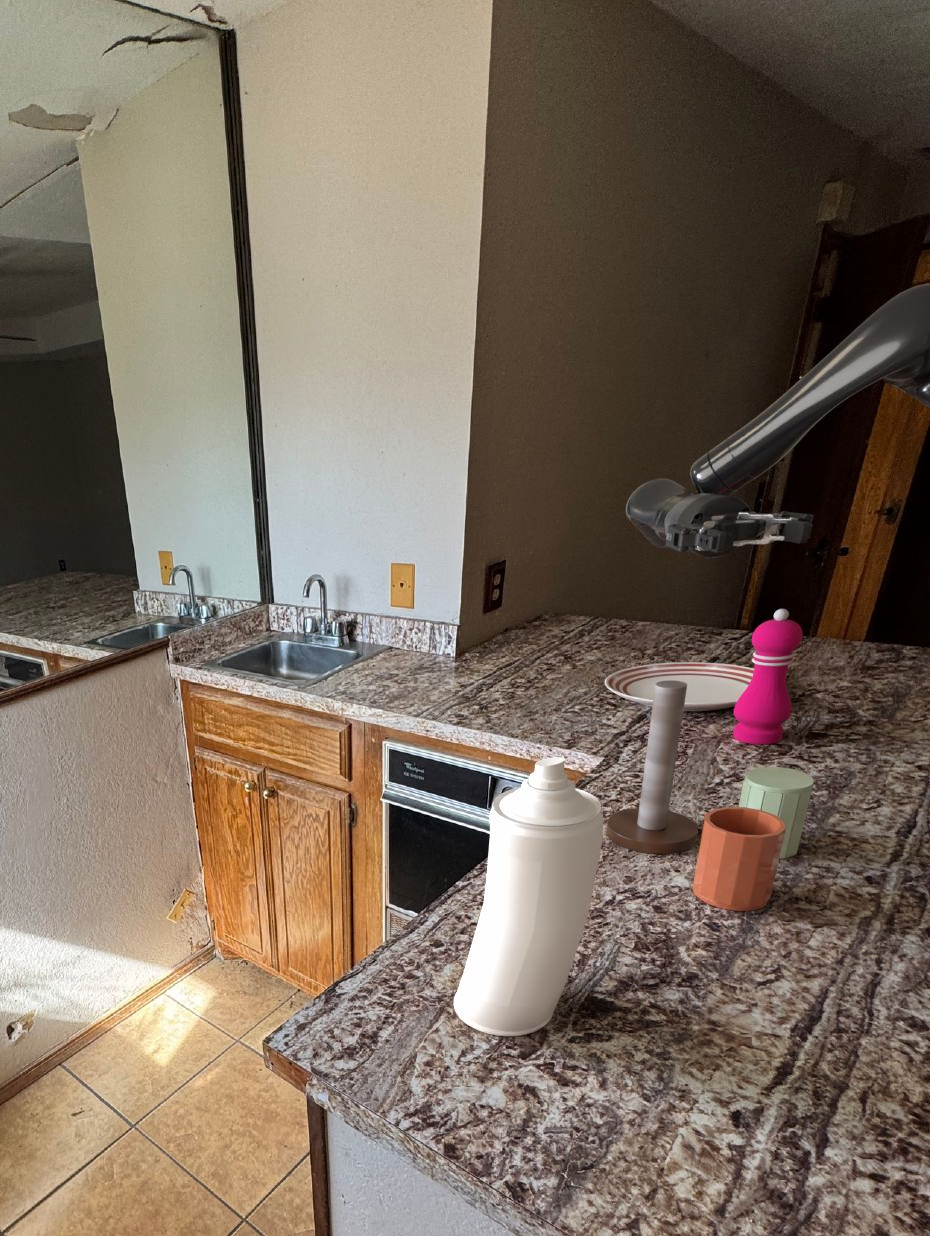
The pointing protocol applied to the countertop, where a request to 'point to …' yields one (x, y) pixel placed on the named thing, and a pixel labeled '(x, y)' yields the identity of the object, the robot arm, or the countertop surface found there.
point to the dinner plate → (704, 682)
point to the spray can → (531, 902)
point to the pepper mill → (768, 682)
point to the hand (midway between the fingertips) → (763, 538)
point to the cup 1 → (780, 799)
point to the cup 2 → (738, 858)
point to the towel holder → (657, 784)
